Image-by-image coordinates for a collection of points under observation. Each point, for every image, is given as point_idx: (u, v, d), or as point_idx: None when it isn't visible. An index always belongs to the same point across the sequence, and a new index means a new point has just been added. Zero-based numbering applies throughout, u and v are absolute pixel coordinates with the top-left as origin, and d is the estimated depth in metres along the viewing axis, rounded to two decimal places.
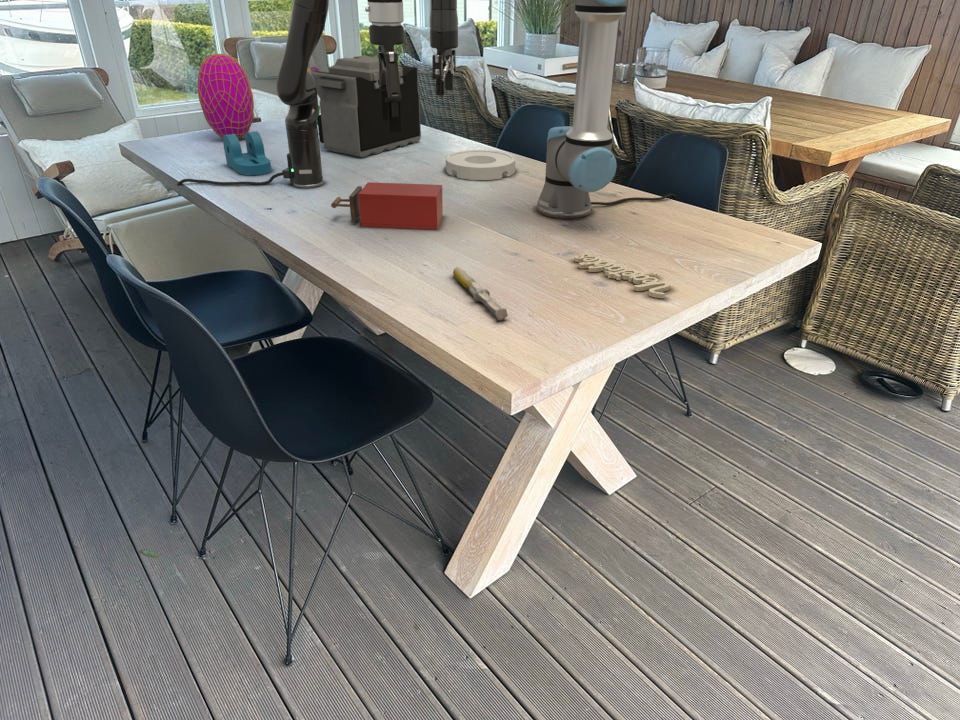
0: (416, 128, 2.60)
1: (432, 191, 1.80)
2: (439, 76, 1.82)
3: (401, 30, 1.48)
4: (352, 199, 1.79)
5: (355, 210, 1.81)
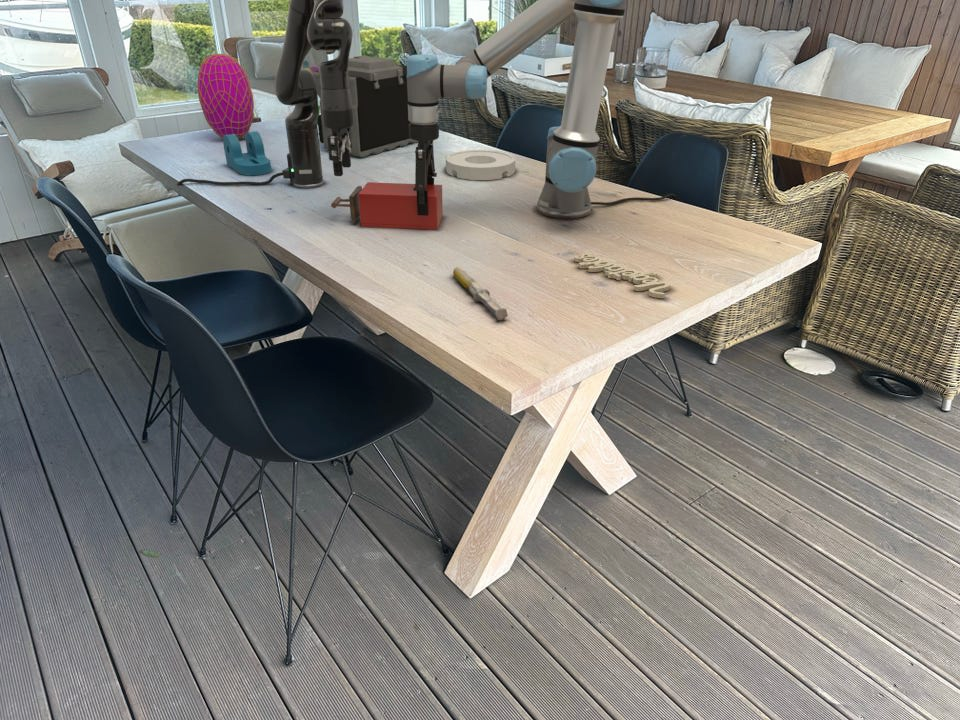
0: None
1: (432, 191, 1.80)
2: None
3: None
4: (352, 199, 1.79)
5: (355, 210, 1.81)
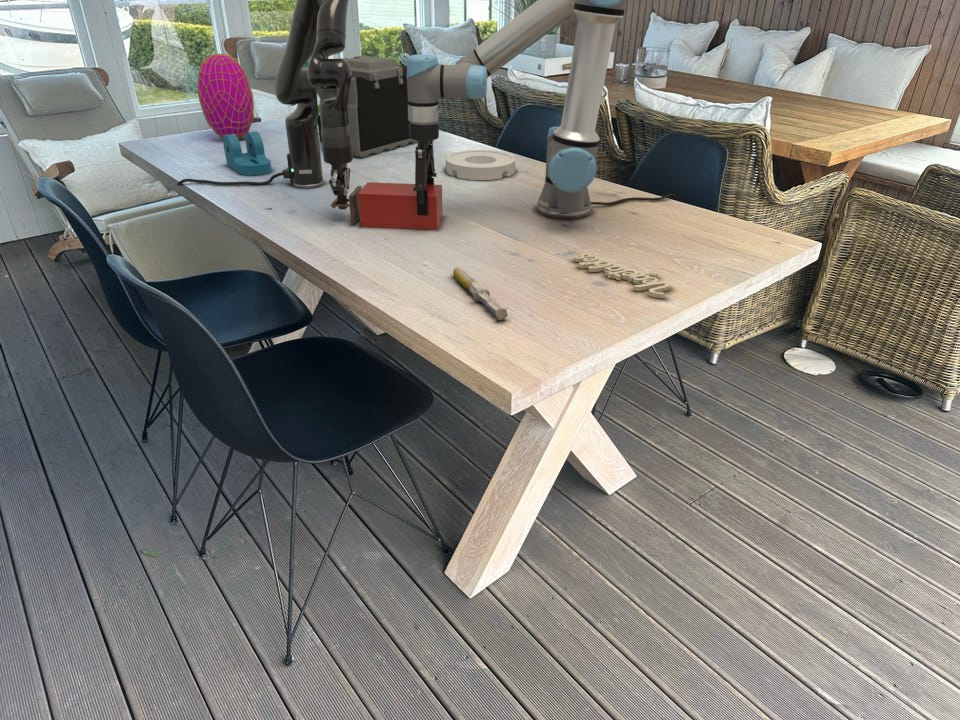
0: None
1: (432, 191, 1.80)
2: None
3: None
4: (352, 199, 1.79)
5: (355, 210, 1.81)
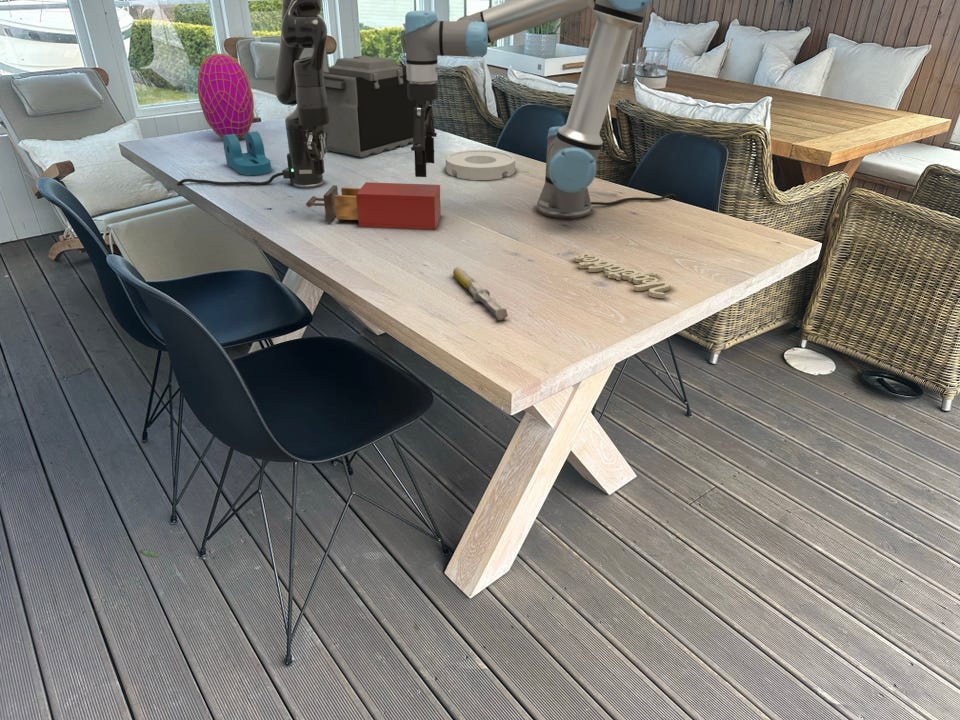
0: None
1: (430, 191, 1.80)
2: None
3: None
4: (327, 198, 1.79)
5: (330, 209, 1.82)
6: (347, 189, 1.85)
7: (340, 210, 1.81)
